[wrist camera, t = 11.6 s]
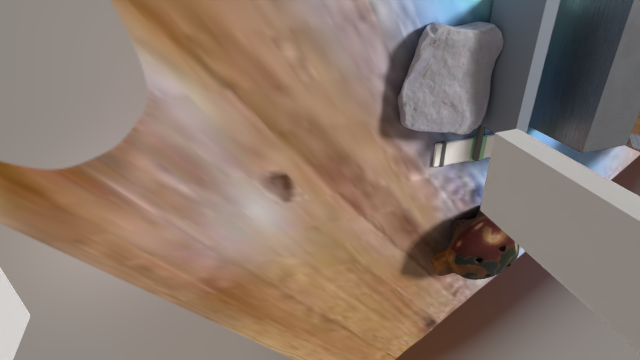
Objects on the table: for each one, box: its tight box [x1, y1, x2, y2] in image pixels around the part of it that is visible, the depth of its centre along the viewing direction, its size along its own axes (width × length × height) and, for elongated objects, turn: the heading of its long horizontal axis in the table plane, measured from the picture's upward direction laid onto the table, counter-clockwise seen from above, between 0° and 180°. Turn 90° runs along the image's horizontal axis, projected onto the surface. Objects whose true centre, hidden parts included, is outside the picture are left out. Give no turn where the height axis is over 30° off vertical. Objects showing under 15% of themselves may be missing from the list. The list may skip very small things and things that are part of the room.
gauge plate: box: [472, 0, 560, 161], centre depth 43 cm, size 19×2×7 cm, turn 2°
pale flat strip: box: [433, 134, 495, 167], centre depth 50 cm, size 3×10×1 cm, turn 92°
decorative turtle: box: [432, 206, 519, 280], centre depth 55 cm, size 10×15×8 cm, turn 124°
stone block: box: [397, 21, 504, 134], centre depth 43 cm, size 12×5×10 cm
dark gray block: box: [528, 0, 640, 153], centre depth 43 cm, size 16×6×10 cm, turn 2°
